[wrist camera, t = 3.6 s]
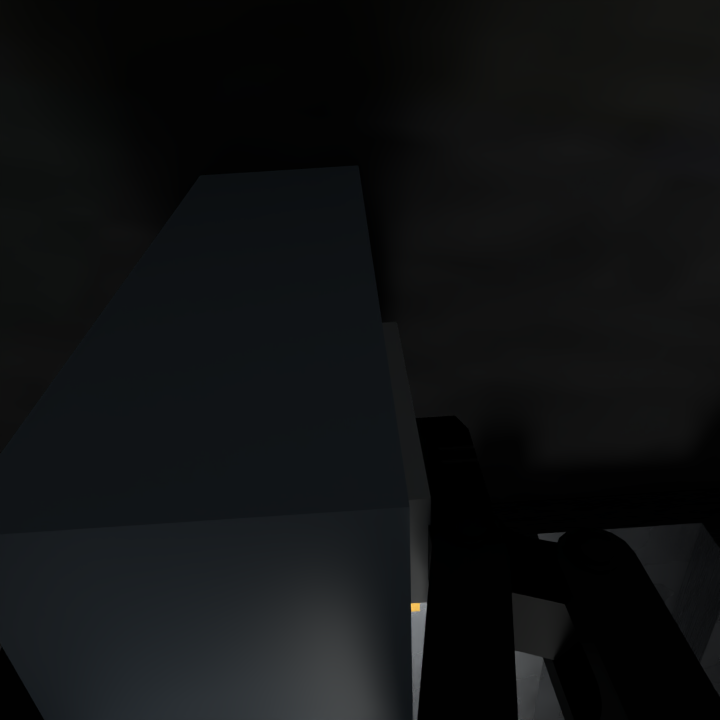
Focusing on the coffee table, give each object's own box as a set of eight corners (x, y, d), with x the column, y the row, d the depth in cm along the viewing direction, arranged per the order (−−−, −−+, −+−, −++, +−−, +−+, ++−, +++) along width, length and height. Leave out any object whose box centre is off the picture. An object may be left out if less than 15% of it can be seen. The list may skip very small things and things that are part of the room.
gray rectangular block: (200, 175, 16) (-61, 538, 5) (358, 165, 16) (409, 506, 5) (255, 475, 21) (180, 955, 10) (374, 468, 21) (416, 939, 10)
